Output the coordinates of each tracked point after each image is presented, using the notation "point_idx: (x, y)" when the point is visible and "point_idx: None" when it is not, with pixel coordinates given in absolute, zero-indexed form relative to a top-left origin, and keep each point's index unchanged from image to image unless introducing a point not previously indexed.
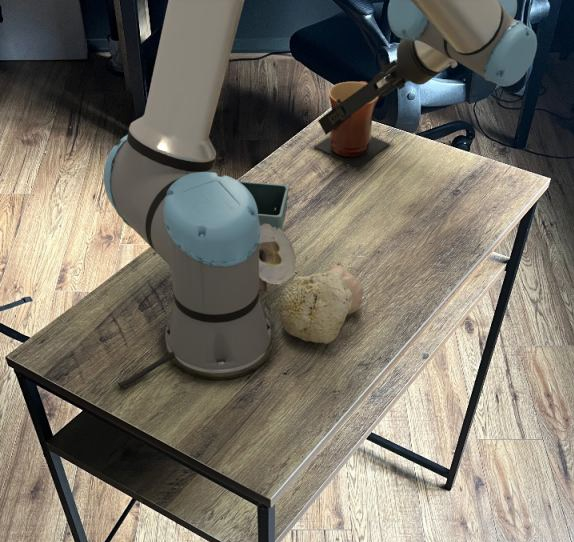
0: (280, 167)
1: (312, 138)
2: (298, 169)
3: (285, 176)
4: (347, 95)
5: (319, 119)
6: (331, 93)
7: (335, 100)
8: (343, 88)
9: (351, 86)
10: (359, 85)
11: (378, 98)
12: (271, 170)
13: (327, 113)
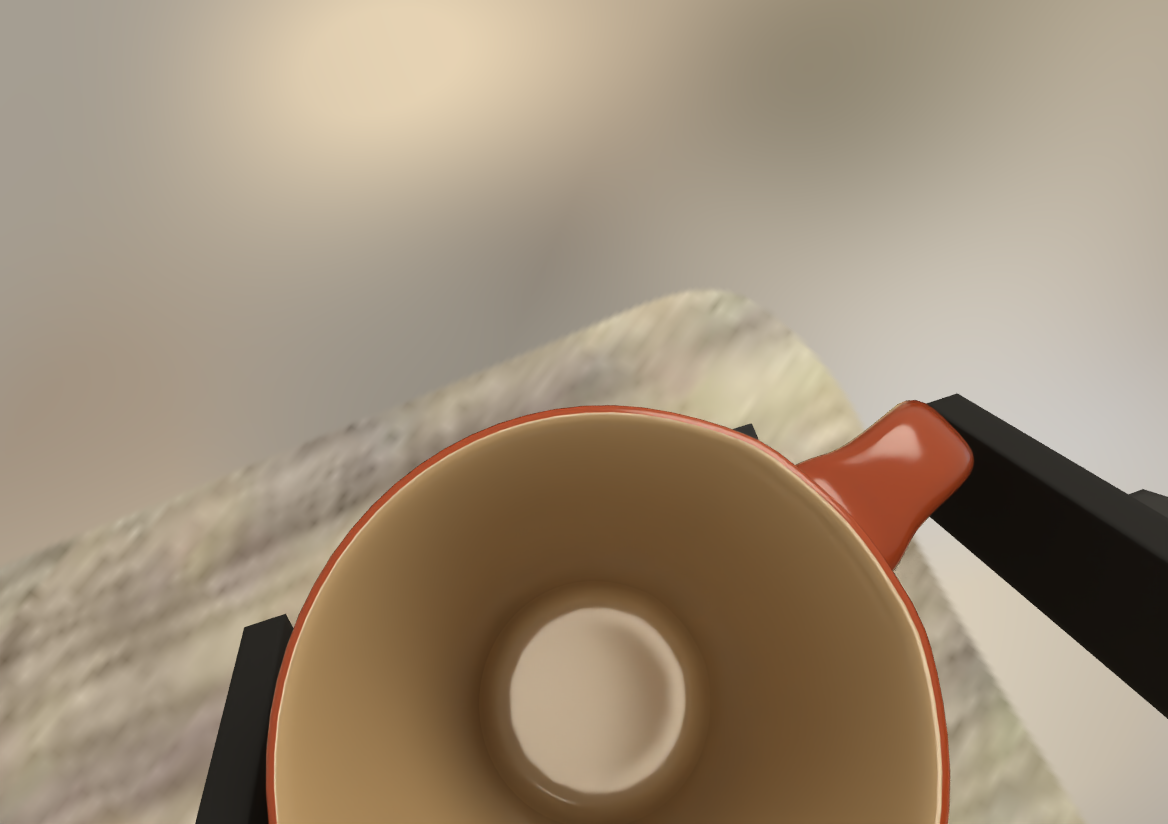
0: (78, 620)
1: (481, 427)
2: (154, 708)
3: (21, 739)
4: (665, 512)
5: (242, 643)
6: (399, 531)
7: (275, 763)
8: (635, 460)
9: (734, 482)
10: (817, 538)
11: (1010, 572)
12: (6, 620)
13: (216, 751)
